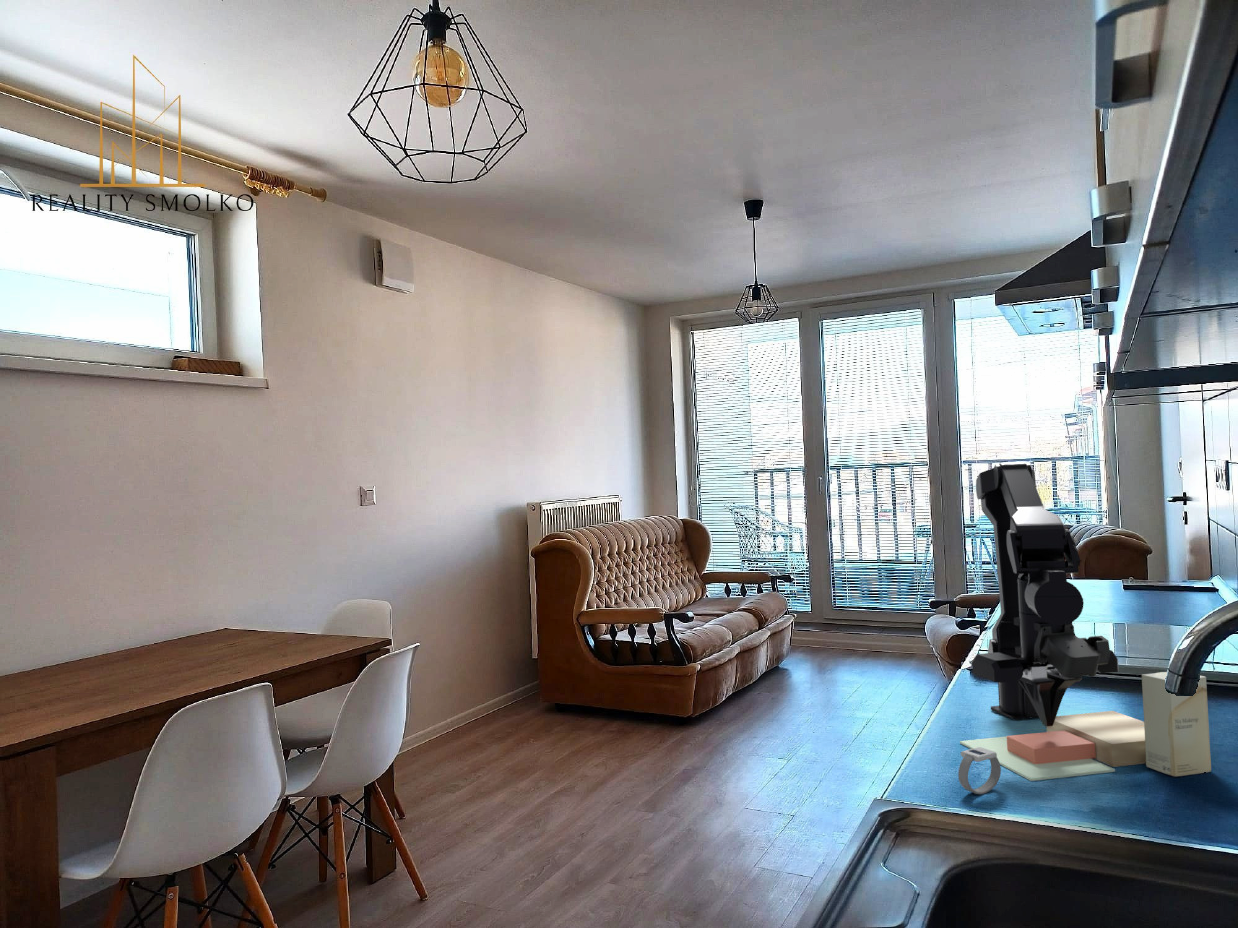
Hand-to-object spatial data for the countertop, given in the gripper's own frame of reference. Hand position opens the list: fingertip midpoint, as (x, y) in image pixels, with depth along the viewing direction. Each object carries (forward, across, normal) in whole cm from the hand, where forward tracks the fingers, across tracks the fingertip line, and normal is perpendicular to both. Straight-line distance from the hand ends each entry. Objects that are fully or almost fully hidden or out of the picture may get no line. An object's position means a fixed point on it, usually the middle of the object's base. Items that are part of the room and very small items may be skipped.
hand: (1047, 725), depth 117 cm
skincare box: (+4, +12, -10) cm, 15 cm away
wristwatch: (+4, -16, -10) cm, 19 cm away
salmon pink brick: (+3, 0, -1) cm, 3 cm away
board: (+4, +10, 0) cm, 11 cm away
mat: (+4, -2, 0) cm, 5 cm away
